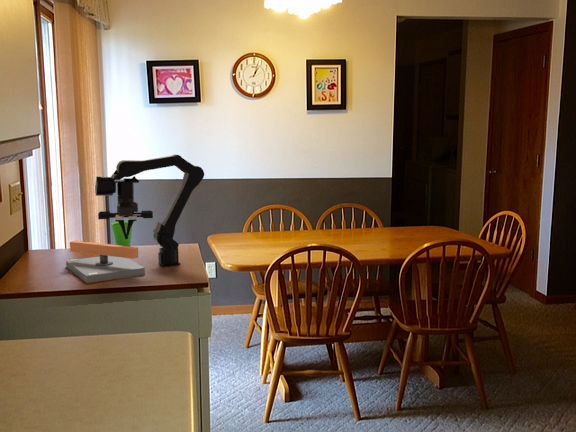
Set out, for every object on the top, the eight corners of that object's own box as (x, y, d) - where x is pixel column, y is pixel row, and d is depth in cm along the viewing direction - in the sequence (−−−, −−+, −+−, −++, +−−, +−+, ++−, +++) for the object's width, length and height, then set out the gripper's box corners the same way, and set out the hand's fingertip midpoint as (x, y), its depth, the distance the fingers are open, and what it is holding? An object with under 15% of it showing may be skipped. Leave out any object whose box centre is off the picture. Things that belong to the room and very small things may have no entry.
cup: (139, 248, 260) (137, 222, 258) (122, 252, 252) (121, 225, 251) (124, 246, 265) (122, 221, 263) (107, 249, 257) (106, 224, 255)
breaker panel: (119, 259, 238) (119, 252, 238) (144, 274, 215) (144, 266, 214) (66, 267, 227) (65, 259, 227) (87, 283, 204) (86, 274, 204)
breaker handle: (76, 259, 229) (75, 240, 227) (139, 267, 215) (138, 247, 214) (70, 261, 226) (69, 241, 225) (134, 269, 213) (133, 248, 212)
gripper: (96, 195, 210) (97, 240, 210) (152, 194, 214) (153, 239, 214) (99, 196, 220) (100, 239, 220) (152, 195, 224) (153, 238, 225)
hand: (126, 239), depth 220 cm, fingers closed
